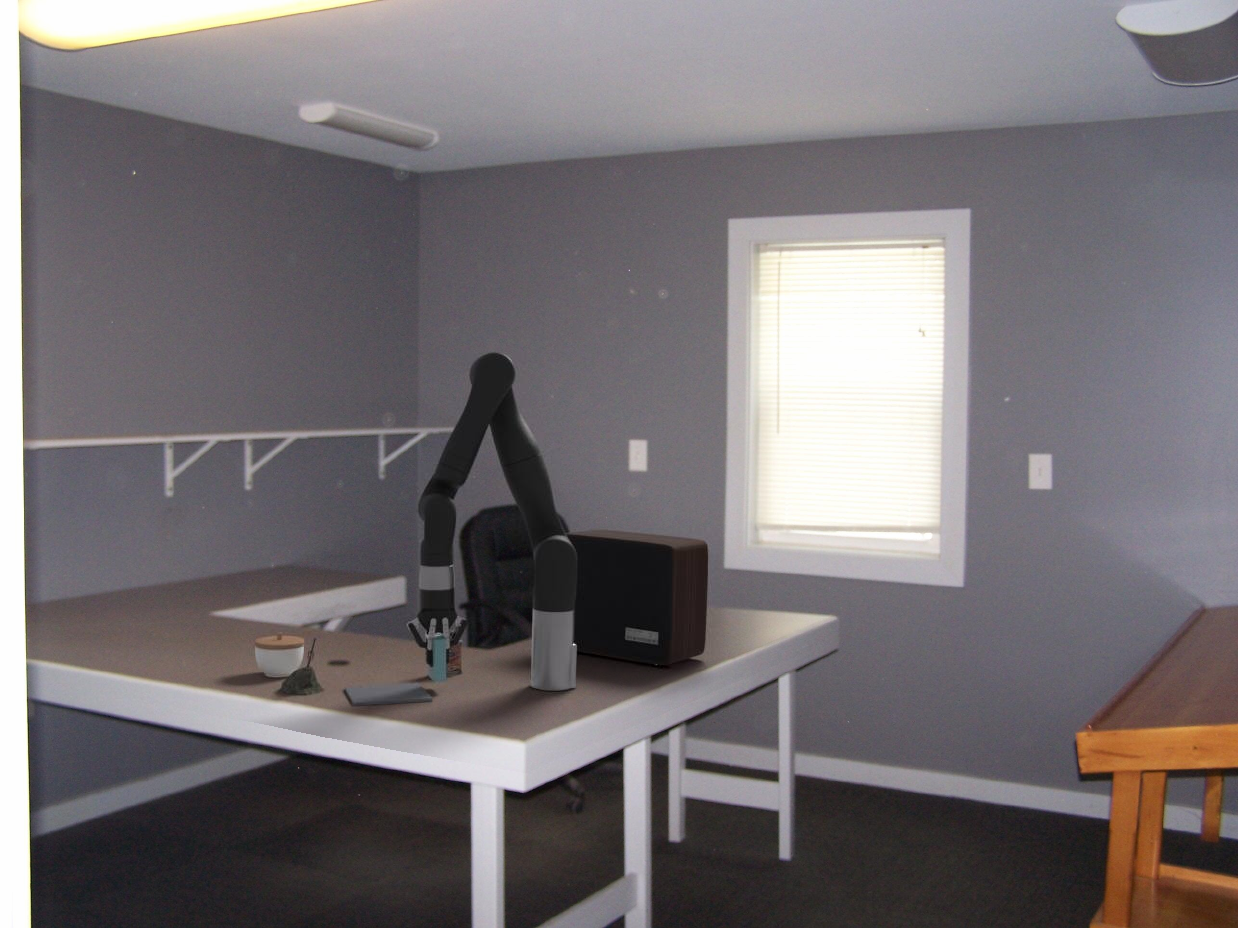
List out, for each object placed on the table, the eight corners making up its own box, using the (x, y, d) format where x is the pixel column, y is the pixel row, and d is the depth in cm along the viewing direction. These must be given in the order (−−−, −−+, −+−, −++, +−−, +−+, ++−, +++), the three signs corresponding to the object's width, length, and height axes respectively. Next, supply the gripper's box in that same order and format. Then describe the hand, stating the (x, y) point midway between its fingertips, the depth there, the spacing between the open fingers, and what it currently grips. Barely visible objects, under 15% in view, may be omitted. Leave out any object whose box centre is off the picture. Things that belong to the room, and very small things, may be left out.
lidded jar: (285, 667, 280) (285, 626, 280) (313, 674, 274) (314, 633, 273) (244, 674, 272) (245, 632, 272) (272, 682, 265) (273, 639, 265)
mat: (419, 685, 266) (419, 683, 266) (432, 701, 253) (432, 698, 253) (344, 689, 260) (344, 686, 260) (353, 705, 247) (353, 702, 247)
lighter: (433, 677, 274) (434, 633, 274) (426, 674, 277) (427, 631, 276) (464, 673, 279) (465, 630, 278) (457, 670, 282) (458, 628, 281)
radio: (708, 659, 303) (712, 539, 302) (671, 671, 289) (675, 544, 287) (590, 640, 324) (593, 527, 322) (549, 650, 309) (552, 532, 307)
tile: (439, 675, 266) (439, 634, 265) (446, 681, 260) (446, 639, 260) (428, 676, 265) (428, 635, 264) (435, 682, 259) (434, 640, 259)
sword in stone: (269, 690, 258) (270, 635, 258) (298, 684, 265) (299, 630, 264) (302, 698, 253) (302, 641, 252) (330, 691, 259) (331, 636, 259)
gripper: (408, 589, 255) (408, 671, 256) (473, 586, 260) (473, 666, 261) (401, 584, 262) (402, 664, 263) (464, 581, 267) (464, 660, 268)
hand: (437, 665), depth 262 cm, fingers closed on tile, 2 cm apart
